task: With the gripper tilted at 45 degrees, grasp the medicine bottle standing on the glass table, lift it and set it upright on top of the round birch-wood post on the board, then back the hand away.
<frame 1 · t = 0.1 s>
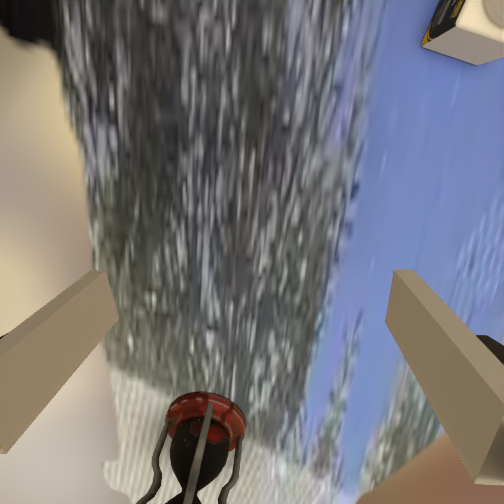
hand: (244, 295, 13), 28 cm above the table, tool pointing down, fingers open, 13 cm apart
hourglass: (206, 419, 58), on the table
medicine bottle: (465, 19, 31), on the table
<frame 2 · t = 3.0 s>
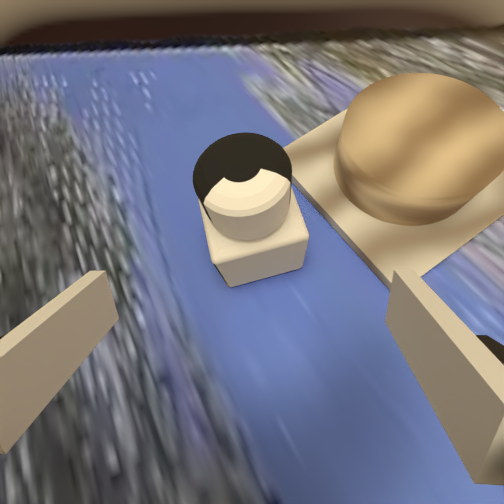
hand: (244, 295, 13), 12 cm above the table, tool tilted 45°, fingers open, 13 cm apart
post stand: (397, 173, 29), on the table
medicine bottle: (256, 245, 28), on the table
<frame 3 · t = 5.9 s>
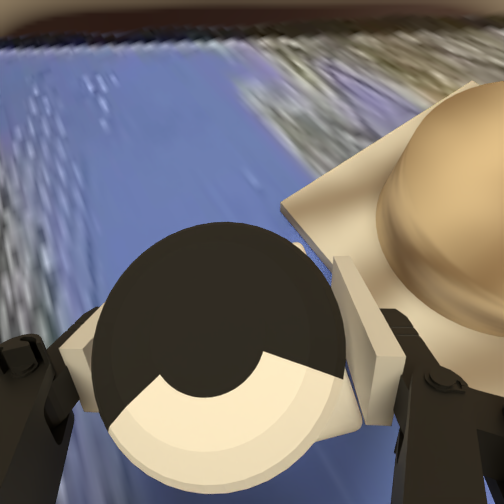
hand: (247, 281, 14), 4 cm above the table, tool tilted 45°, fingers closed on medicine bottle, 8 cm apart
post stand: (474, 236, 19), on the table
medicine bottle: (254, 353, 17), on the table, touching gripper
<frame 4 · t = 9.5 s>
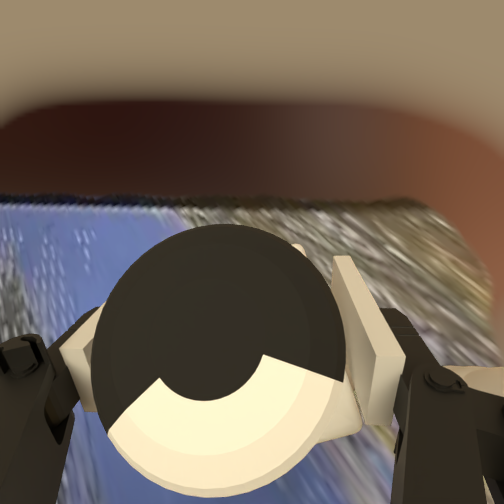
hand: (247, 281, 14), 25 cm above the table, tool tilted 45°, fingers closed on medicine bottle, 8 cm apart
water bottle: (450, 397, 33), on the table
medicine bottle: (254, 354, 17), point 21 cm above the table, touching gripper
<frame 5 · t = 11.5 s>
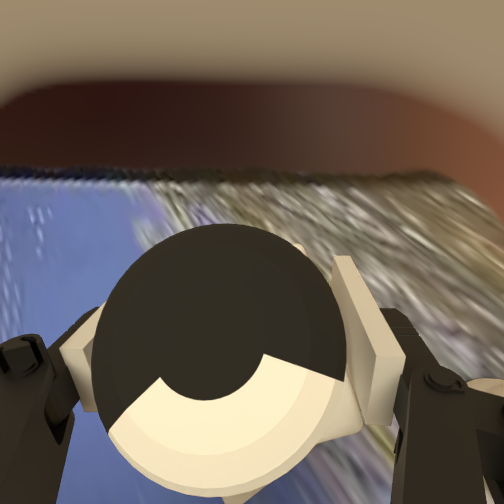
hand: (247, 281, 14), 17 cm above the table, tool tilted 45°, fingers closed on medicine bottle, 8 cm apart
post stand: (259, 354, 29), on the table
water bottle: (488, 420, 26), on the table
medicine bottle: (254, 354, 17), point 13 cm above the table, touching gripper
when the fingers open (12 cm above the table, at t = 13.3 s): medicine bottle drops 1 cm, resting on post stand.
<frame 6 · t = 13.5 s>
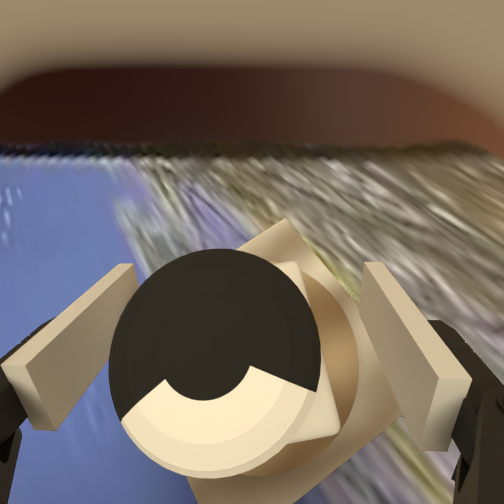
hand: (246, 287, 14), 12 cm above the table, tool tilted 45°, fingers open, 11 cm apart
post stand: (261, 356, 24), on the table
medicine bottle: (251, 356, 19), point 6 cm above the table, touching post stand
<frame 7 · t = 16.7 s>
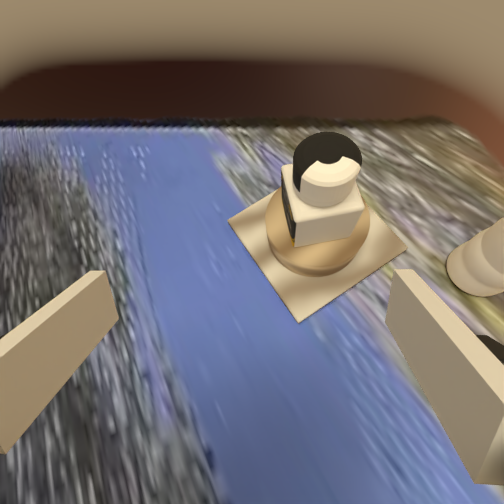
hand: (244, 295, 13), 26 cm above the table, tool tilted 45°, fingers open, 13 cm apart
post stand: (312, 236, 42), on the table
water bottle: (472, 271, 38), on the table
medicine bottle: (314, 218, 36), point 6 cm above the table, touching post stand
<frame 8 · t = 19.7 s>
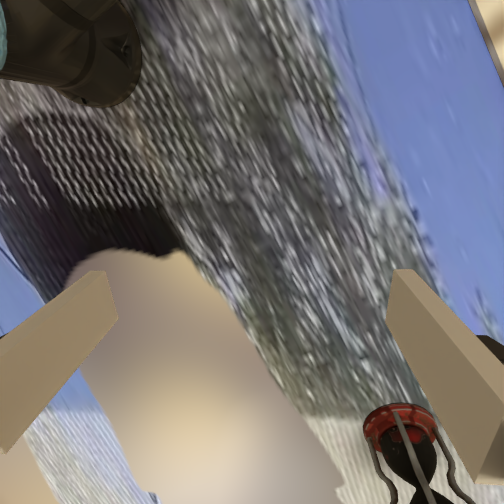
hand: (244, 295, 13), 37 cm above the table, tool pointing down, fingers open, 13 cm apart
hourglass: (397, 425, 67), on the table
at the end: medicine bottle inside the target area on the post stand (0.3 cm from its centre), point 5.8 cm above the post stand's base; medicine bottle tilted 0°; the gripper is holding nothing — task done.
